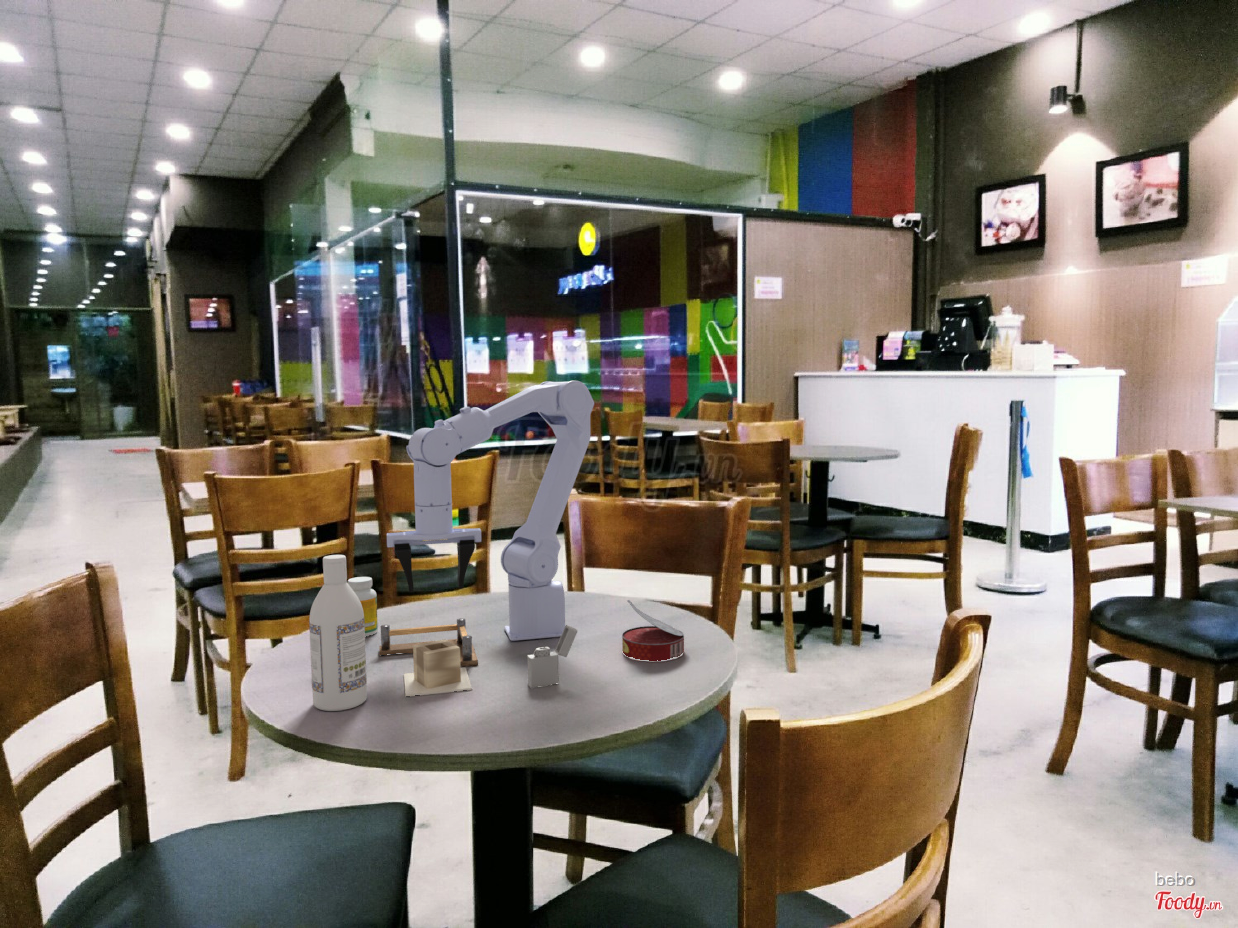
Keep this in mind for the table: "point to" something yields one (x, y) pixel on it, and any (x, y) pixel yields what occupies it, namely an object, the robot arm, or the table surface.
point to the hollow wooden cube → (436, 663)
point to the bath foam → (337, 641)
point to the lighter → (549, 660)
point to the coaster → (417, 689)
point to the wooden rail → (462, 641)
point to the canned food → (652, 640)
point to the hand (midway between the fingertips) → (436, 588)
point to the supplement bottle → (366, 602)
